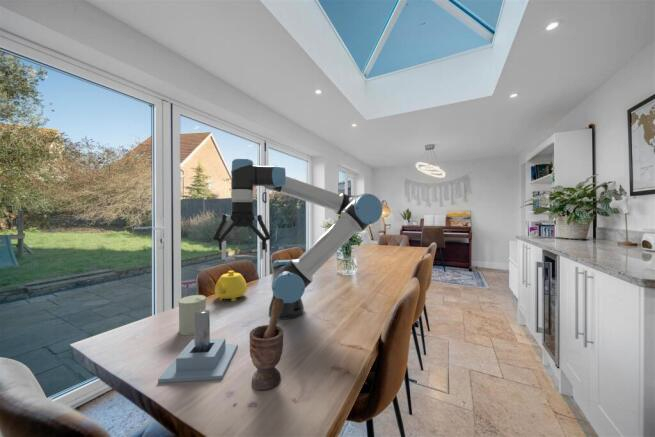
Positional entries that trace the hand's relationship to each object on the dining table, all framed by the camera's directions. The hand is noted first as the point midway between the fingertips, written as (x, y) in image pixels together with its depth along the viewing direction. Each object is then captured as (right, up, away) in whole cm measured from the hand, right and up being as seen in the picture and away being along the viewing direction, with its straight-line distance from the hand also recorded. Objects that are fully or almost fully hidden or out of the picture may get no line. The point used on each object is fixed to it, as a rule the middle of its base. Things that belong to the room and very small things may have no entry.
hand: (242, 258), depth 94 cm
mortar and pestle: (+15, -28, -26) cm, 41 cm away
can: (-19, -27, +1) cm, 33 cm away
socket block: (-5, -27, -20) cm, 34 cm away
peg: (-5, -26, -20) cm, 33 cm away
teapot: (-18, -26, +33) cm, 46 cm away
